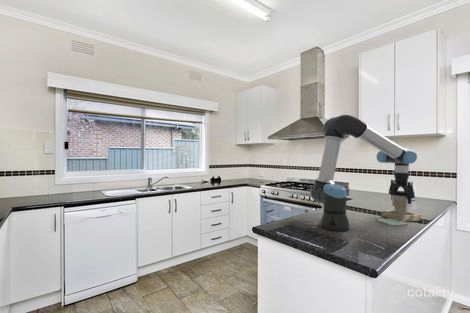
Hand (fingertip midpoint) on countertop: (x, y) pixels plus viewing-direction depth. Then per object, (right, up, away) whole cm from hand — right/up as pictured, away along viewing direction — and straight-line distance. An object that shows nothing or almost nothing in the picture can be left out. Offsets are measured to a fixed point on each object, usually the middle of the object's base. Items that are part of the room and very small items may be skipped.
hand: (400, 207), depth 152 cm
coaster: (-12, -7, -10) cm, 17 cm away
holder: (0, -7, 0) cm, 7 cm away
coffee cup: (0, -5, 0) cm, 5 cm away
